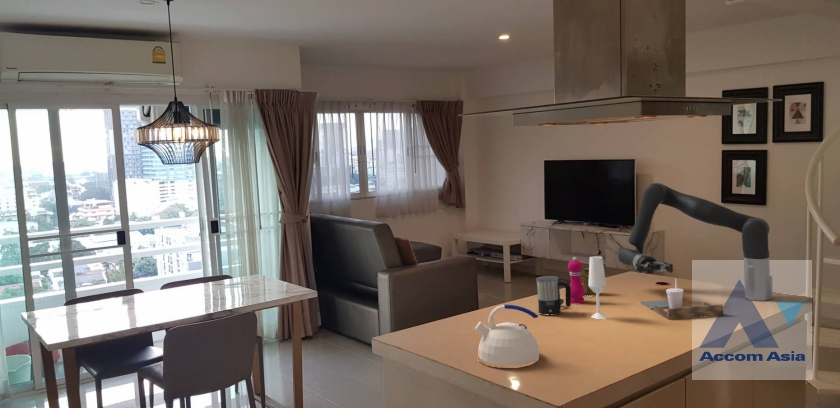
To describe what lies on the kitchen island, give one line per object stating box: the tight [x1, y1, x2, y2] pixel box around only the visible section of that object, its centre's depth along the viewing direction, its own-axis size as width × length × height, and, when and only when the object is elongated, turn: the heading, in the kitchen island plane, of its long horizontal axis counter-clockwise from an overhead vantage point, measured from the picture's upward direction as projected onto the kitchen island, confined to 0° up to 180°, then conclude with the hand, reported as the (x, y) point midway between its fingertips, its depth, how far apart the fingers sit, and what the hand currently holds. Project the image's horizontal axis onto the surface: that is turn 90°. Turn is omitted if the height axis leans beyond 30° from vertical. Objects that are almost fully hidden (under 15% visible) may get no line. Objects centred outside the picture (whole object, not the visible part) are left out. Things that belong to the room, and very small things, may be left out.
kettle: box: [474, 304, 541, 365], centre depth 195 cm, size 20×21×18 cm
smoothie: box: [665, 278, 685, 308], centre depth 232 cm, size 6×6×14 cm
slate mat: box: [640, 299, 669, 310], centre depth 247 cm, size 11×11×1 cm
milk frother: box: [535, 275, 572, 315], centre depth 250 cm, size 14×16×15 cm
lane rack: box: [653, 301, 724, 321], centre depth 233 cm, size 21×13×4 cm, turn 92°
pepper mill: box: [567, 256, 585, 304], centre depth 261 cm, size 7×7×20 cm
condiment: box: [581, 267, 601, 298], centre depth 273 cm, size 7×8×12 cm
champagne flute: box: [588, 255, 608, 320], centre depth 234 cm, size 7×7×24 cm
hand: (661, 270), depth 242 cm, fingers open, 8 cm apart
